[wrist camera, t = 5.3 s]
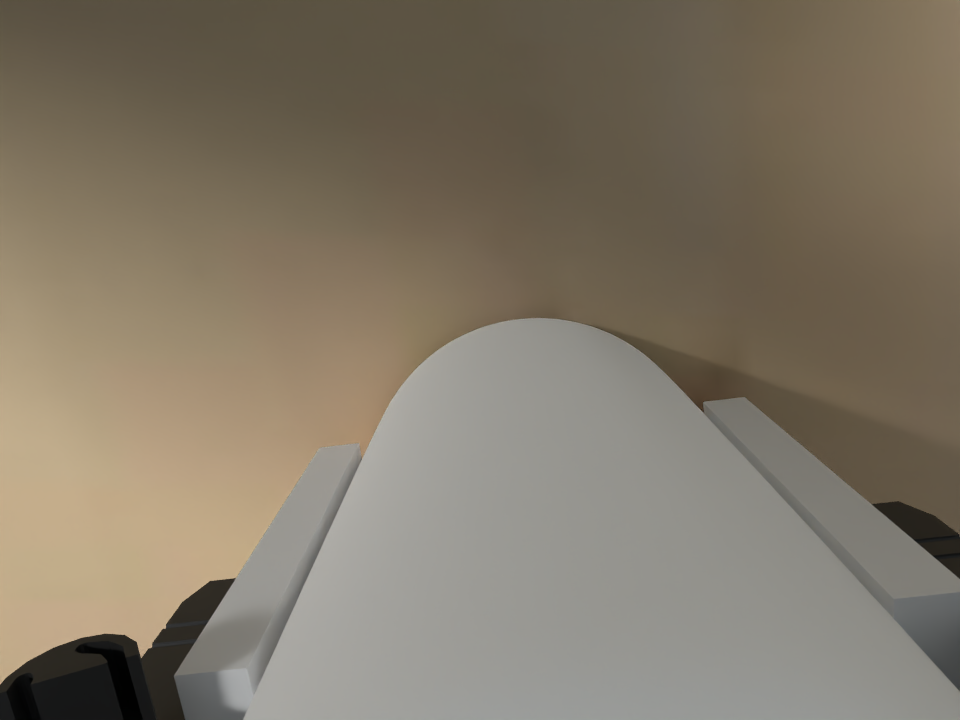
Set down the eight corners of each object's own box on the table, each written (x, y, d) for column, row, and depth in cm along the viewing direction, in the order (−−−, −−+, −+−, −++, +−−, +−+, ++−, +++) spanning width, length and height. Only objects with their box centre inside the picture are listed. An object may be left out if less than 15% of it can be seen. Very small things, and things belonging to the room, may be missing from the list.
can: (363, 316, 14) (-254, 973, 2) (703, 307, 14) (1805, 954, 2) (383, 616, 16) (66, 1915, 4) (689, 611, 15) (1308, 1937, 4)
